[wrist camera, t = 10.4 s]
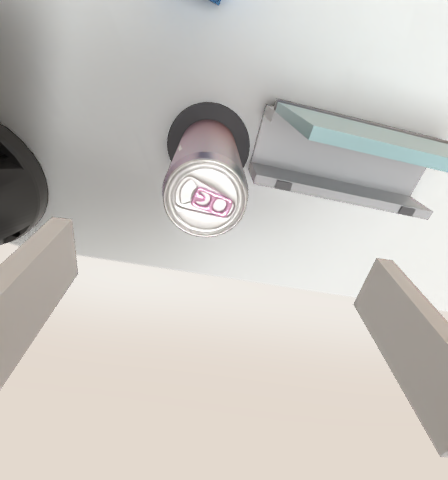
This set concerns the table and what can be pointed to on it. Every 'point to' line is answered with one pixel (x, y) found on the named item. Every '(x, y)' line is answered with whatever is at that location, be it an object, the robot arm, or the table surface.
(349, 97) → the table surface
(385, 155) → the cover
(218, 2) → the perfume bottle
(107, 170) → the table surface
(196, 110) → the coaster
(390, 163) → the grey rectangular tray
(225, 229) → the beverage can
